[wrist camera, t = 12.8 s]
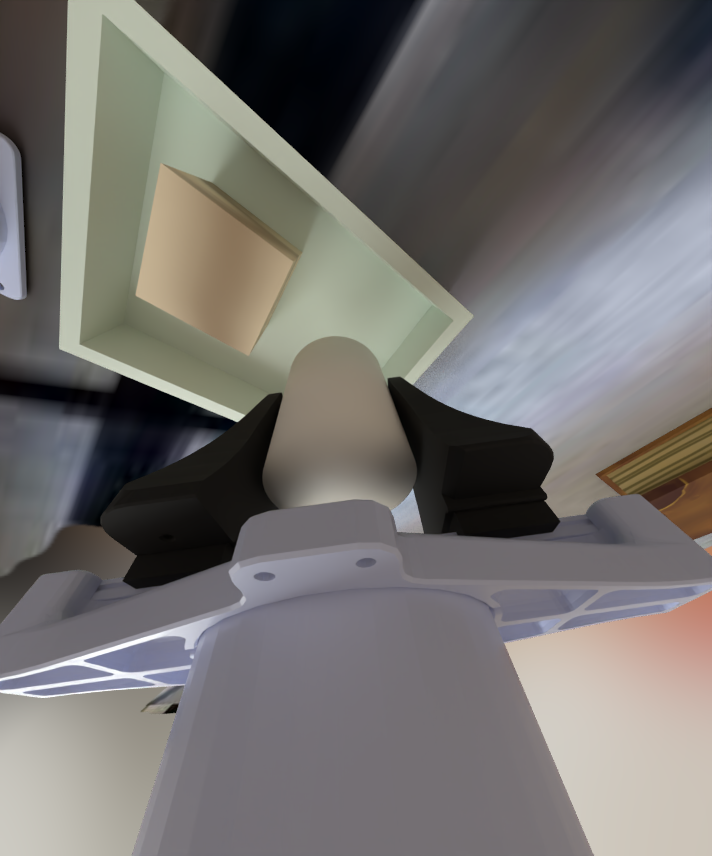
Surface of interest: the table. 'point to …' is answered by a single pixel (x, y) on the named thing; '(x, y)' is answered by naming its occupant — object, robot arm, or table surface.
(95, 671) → the robot arm
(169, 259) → the oak cube
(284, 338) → the tote
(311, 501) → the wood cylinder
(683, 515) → the diary
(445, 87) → the table surface
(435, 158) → the table surface
